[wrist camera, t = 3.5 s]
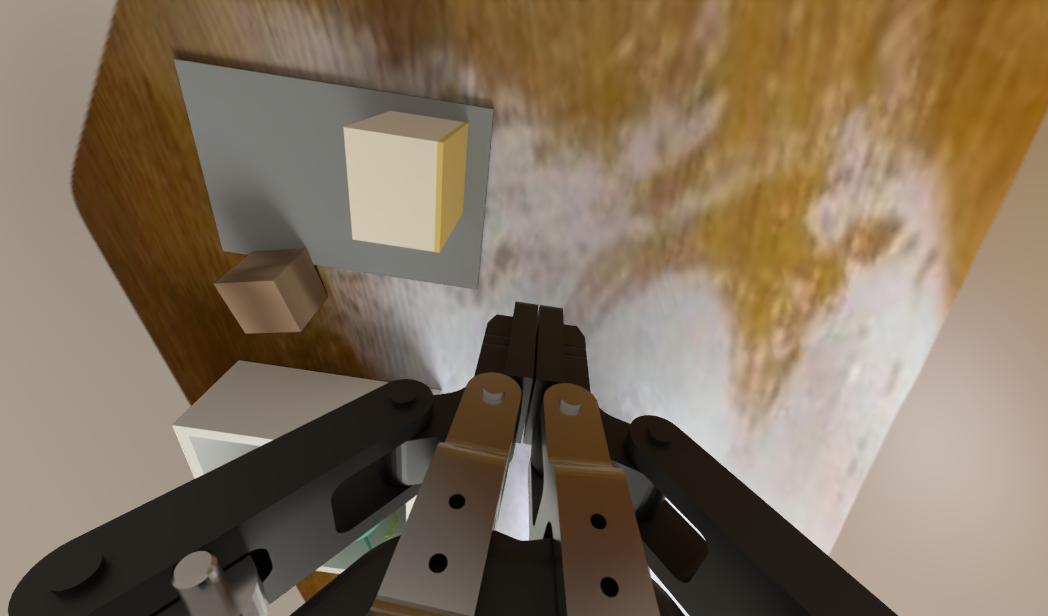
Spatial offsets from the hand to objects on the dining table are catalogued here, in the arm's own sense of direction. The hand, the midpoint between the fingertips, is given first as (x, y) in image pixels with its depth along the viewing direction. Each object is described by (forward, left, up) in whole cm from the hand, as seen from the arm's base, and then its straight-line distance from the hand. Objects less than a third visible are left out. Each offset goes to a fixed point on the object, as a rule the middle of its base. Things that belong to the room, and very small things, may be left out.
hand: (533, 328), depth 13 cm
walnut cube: (+19, +10, -18) cm, 28 cm away
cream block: (+8, 0, -18) cm, 19 cm away
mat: (+14, +3, -18) cm, 23 cm away
